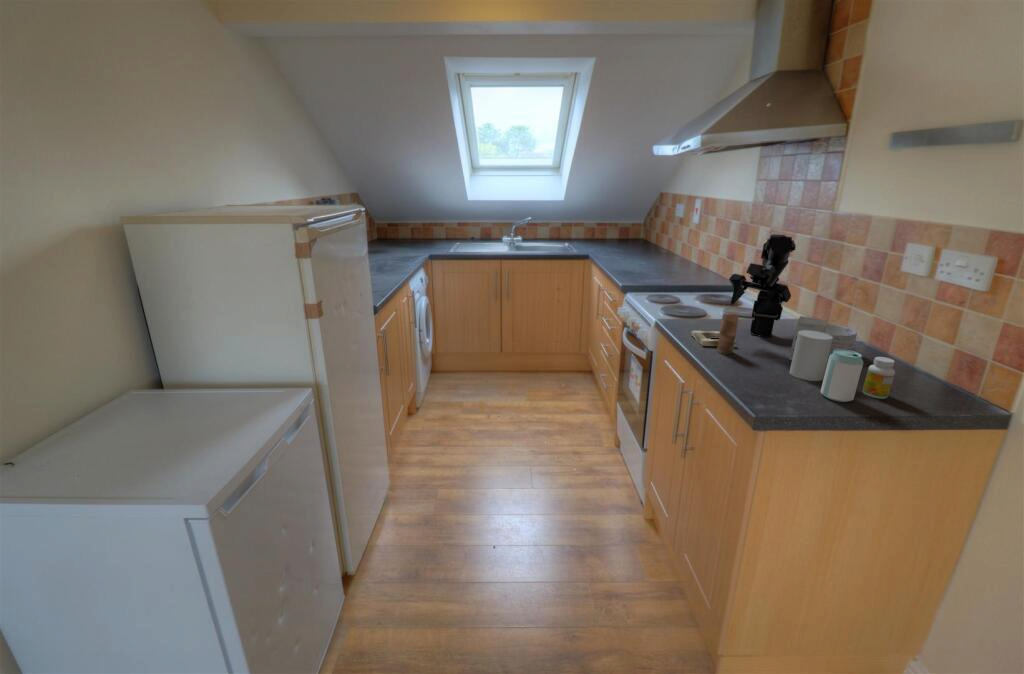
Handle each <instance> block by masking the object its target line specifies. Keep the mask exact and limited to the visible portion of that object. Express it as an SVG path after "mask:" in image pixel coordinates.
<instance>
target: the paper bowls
mask: <svg viewBox="0 0 1024 674" xmlns="http://www.w3.org/2000/svg"><path fill="white" fill-rule="evenodd" d="M825 333H826V334H829V335H831V336H832V337H833V340H832V344H831V348H830V352H829V356H830V355H831V354H832V353H833V352H834V350H836V349H844V350H851V349H854V347H855V343H856V339H857V336H858V333H857V331H856V330H854V329H852V328H850V327H847V326H843V325H837V324H832V323H827V325H826V329H825ZM829 356H828V357H829Z"/></svg>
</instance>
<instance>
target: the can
mask: <svg viewBox="0 0 1024 674" xmlns="http://www.w3.org/2000/svg"><path fill="white" fill-rule="evenodd" d="M862 357H863V355H862V354H861V353H859V352H857V351H854V350H851V349H848V350H844V349H836V350H834V352H833V353H832V354H831V355H830V356H828V360H827V364H826V368H825V372H824V376H823V379H822V384H821V389H820V393H821V394H822V395H823V396H824V397H825V398H827V399H828V400H831V401H834V402H839V403H848V402H851V401H853V400H854V398H855V396H856V391H857V388H858V386H859V385H858V384H859V381H860V376H861V373H862V369H863V366H864V360H863V358H862Z"/></svg>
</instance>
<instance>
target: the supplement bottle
mask: <svg viewBox="0 0 1024 674" xmlns="http://www.w3.org/2000/svg"><path fill="white" fill-rule="evenodd" d="M894 366H895V360H894V359H892V358H889V357H884V356H876V357H874V360H873V364H871V365H869V367H868V369H867V373H866V376H865V380H864V383H863V387H862V393H863V394H864V395H865V396H867V397H871V398H875V399H881V400H884V399H887V398H888V397H889V395H890V391H891V387H892V385H893V381H894V378H895V374H896V371H895V369H894Z"/></svg>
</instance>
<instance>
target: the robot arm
mask: <svg viewBox="0 0 1024 674" xmlns="http://www.w3.org/2000/svg"><path fill="white" fill-rule="evenodd" d="M796 247H797V245H796V243H795V241H794V240H793V237H792V236H787V235H784V234H775V233H773V234H771V235H770V236H769V238H767V241H766V242H765V243H764V244H763V245H762V250H761V251H762V252H761V255H760V256H761V257H760V260H762V261H761V262H762V263H761V264H757V263H752V262H750V263H749V265H748V267H747V270H746V274H749V275H750V277H749V278H750V280H751V281H750V280H747V277H746V276H745V275H743V274H739V273H732V274H731V276H730V277H729V279H728V280H729V282H730V283H731V286H732V287H733V292H732V297H731V301H730V305H732V306H733V305H734V304H736V303H737V302H738V300H739V299H741V298H742V297H743V295H744V294H745V291H746V290H747V289H748V288H750V289H755V290H757V291H758V294H757V297H756V300H755V299H754V302H753V305H752V306H753V307H752V311H751V318H752V319H751V324H750V330H749V332H751V333H750V335H751V334H752V333H753V334H755V335H754V336H757V335H760V337H764V336H767V337H766V338H772V337H773V328H774V324H775V321H779V320H781V317H782V313H783V309H784V308H783V306H782V303H788V302H789V300H790V299H791V297H792V293H791V291H790V288H789V286H788V285H787V284H783V283H778V282H779V280H780V278H779V276H780V275H781V274H782V273H783V272H784V270H785V268H786V267H787V265H789V258H790V255H791V253H793V251H796Z"/></svg>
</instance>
